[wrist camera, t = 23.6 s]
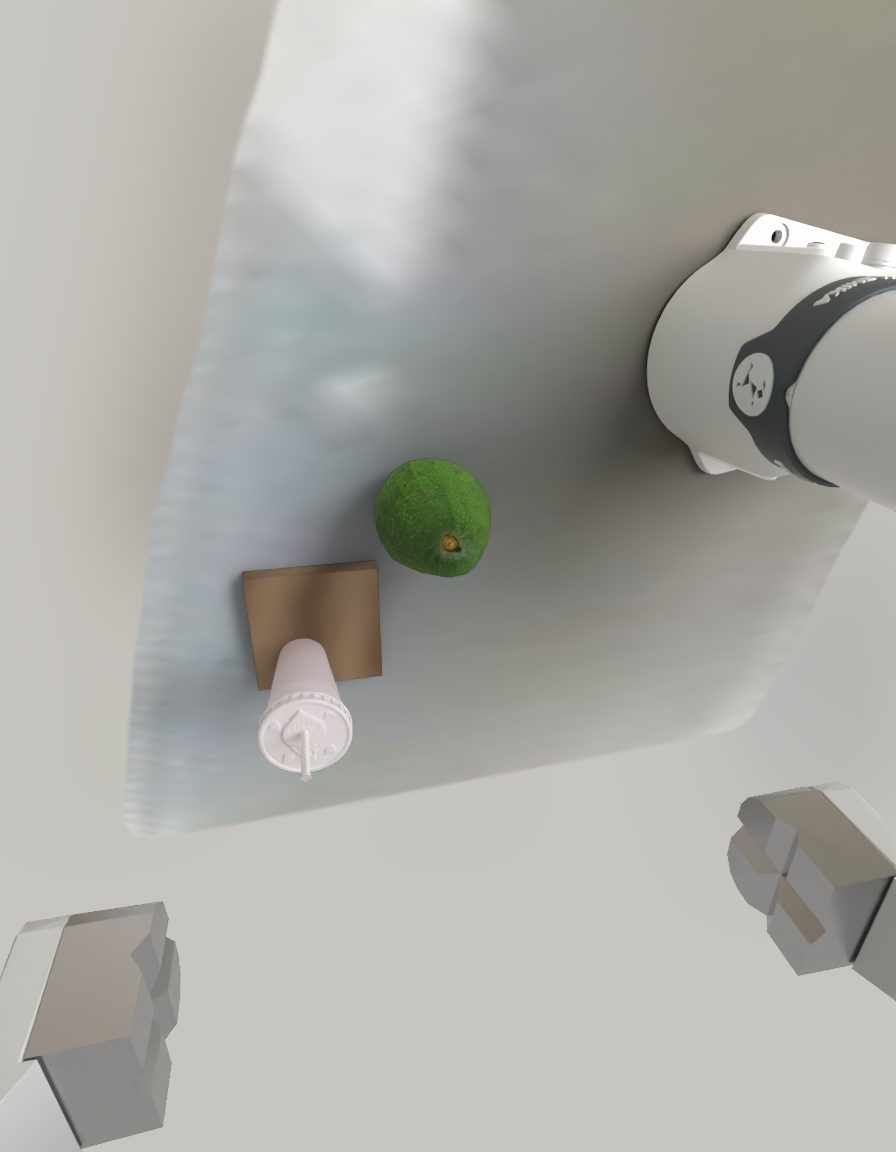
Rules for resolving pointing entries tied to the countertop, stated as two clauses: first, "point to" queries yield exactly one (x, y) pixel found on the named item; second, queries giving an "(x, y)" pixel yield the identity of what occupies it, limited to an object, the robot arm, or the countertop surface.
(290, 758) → the smoothie
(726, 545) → the countertop surface
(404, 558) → the avocado
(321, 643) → the coaster board
